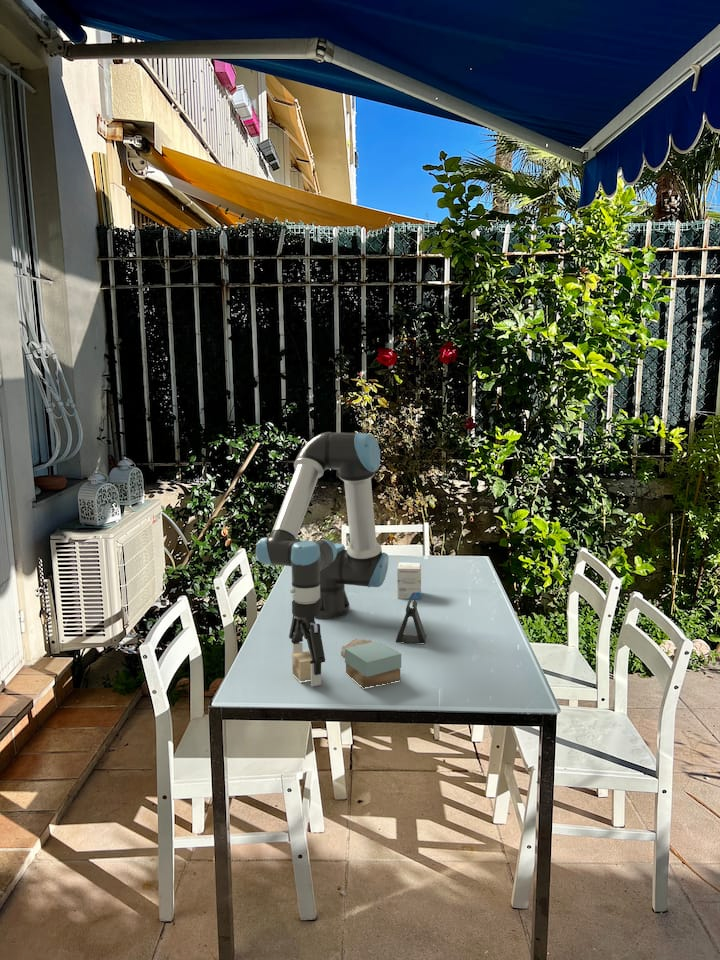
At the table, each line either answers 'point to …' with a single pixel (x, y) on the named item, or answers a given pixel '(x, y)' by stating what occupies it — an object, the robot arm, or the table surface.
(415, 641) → the phone stand
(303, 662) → the oak block
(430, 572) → the table surface
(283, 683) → the table surface
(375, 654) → the tower top
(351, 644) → the stone
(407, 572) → the ink box
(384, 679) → the tower base
